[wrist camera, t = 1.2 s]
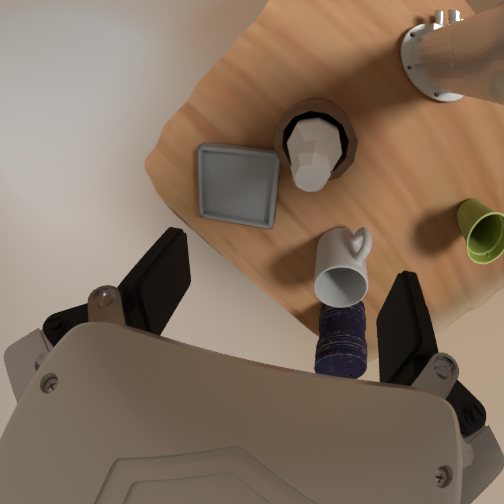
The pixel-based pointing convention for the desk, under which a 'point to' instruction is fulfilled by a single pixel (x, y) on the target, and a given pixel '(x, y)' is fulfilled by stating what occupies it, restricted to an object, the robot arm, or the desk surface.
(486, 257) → the plant pot
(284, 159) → the holder
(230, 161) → the tray
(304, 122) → the faceted bottle
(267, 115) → the desk surface
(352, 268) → the mug
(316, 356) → the storage jar
